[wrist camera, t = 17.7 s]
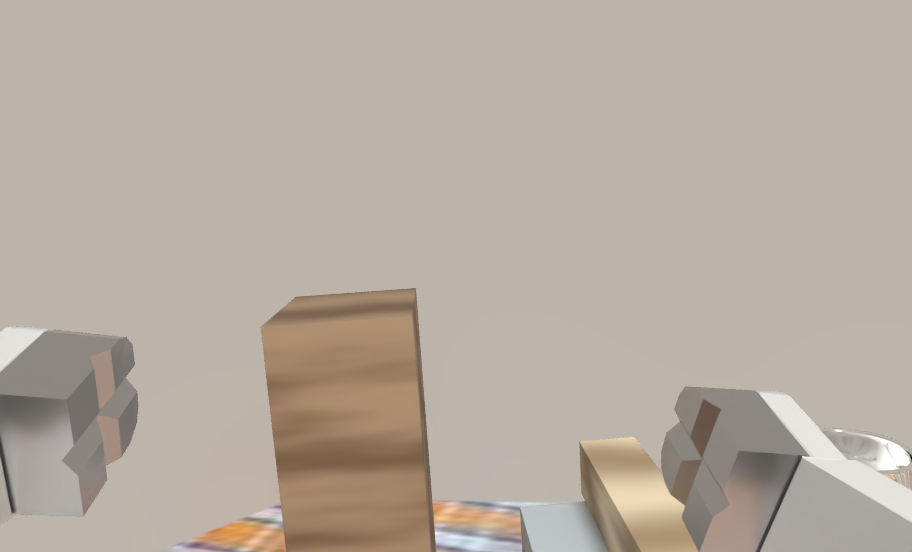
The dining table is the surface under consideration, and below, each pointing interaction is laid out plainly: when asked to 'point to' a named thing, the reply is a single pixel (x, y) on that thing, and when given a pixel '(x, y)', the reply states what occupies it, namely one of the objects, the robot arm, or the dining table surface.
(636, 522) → the beech rod
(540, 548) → the grey-blue block
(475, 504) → the dining table surface
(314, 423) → the walnut stand
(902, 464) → the beer glass
